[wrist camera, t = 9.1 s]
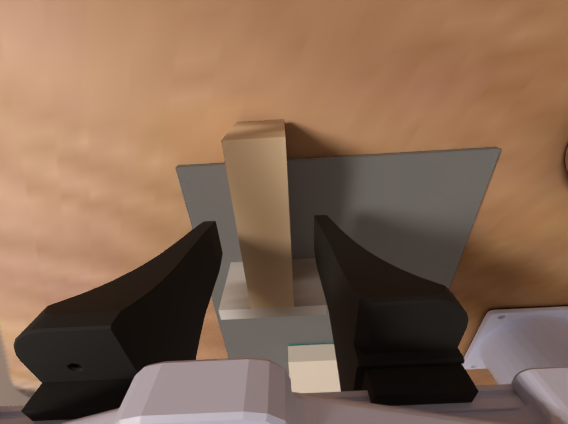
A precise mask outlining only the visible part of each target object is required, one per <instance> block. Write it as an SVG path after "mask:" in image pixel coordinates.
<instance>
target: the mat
mask: <svg viewBox="0 0 568 424" xmlns="http://www.w3.org/2000/svg"><path fill="white" fill-rule="evenodd" d="M500 151H501V149H500V148H497V147H486V148H469V149H452V150H435V151H417V152H400V153H383V154H366V155H348V156H331V157H314V158H297V159H287V177H288V196H289V216H290V235H291V255H292V259H306V258H315V252H314V215H327V216H328V217H329V218H330V219H331V220H332V221H333V222H334V223H335V224H336V225H337V226H338V227H339V228H340V229H341V230H342V231H343V232H344V233H346V234H347V235H348V236H349V237H350V238H351V239H352V240H354V241H355V242H356V243H358V244H359V245H360V246H362V247H363V248H364V249H366V250H367V251H369V252H370V253H372V254H374V255H375V256H377V257H379V258H380V259H382V260H384V261H386V262H388V263H390V264H392V265H393V266H395V267H398V268H400V269H402V270H404V271H407V272H409V273H411V274H414V275H416V276H419V277H421V278H424V279H427V280H430V281H433V282H436V283H439V284H442V285H445V286H446V287H447V288H448V289H449V288H450V285H451V282H452V280H453V277H454V274H455V272H456V269H457V266H458V264H459V261H460V258H461V256H462V253H463V250H464V248H465V245H466V242H467V239H468V237H469V234H470V231H471V229H472V226H473V223H474V221H475V218H476V215H477V213H478V210H479V207H480V205H481V202H482V199H483V197H484V194H485V191H486V188H487V186H488V183H489V180H490V178H491V175H492V172H493V170H494V167H495V164H496V162H497V159H498V156H499V154H500ZM176 171H177V175H178V178H179V182H180V186H181V189H182V193H183V196H184V200H185V203H186V207H187V211H188V214H189V218H190V221H191V225H192V229H194V228H195V227H197V226H198V225H199V224H201V223H202V222H204V221H216V225H217V229H218V234H219V238H220V243H221V247H222V252H223V255H222V261H221V266H220V271H219V274H218V277H217V280H216V283H215V286H214V289H213V292H212V295H211V297H212V300H213V304H214V307H215V311H216V314H217V318H218V322H219V325H220V329H221V332H222V336H223V339H224V343H225V347H226V350H227V354H228V357H229V358H259V359H268V360H270V361H272V362H274V363H276V364H278V365H280V366H282V367H283V368H284V369H285V370H286V372H287V374H288V375H289V364H288V346H289V344H304V343H326V342H333V335H332V329H331V323H330V317H329V311H328V307H327V312H326V315H312V316H291V317H270V318H249V319H229V320H221V318H220V314H219V311H218V310H219V306H220V302H221V299H222V295H223V291H224V287H225V283H226V279H227V276H228V272H229V268H230V264H231V262H242V256H241V250H240V245H239V239H238V233H237V228H236V222H235V216H234V210H233V205H232V199H231V193H230V188H229V182H228V176H227V171H226V165H225V163H210V164H193V165H178V166H177V167H176ZM326 304H327V302H326Z"/></svg>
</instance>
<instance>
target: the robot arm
mask: <svg viewBox="0 0 568 424" xmlns="http://www.w3.org/2000/svg"><path fill="white" fill-rule="evenodd" d="M314 252H315V259H316V266H317V270H318V273H319V277H320V281H321V284H322V288H323V292H324V295H325V299H326V302H327V307H328V311H329V317H330V323H331V329H332V335H333V342H334V348H335V355H336V361H337V368H338V375H339V382H340V389H341V392H319V393H297V392H292V389H291V379H290V377H289V375H288V374H287V372H286V370H285V369H284V368H283V367H282V366H280V365H278V364H276V363H274V362H272V361H270V360H268V359H259V358H229V359H207V360H196V355H197V350H198V345H199V340H200V335H201V330H202V326H203V321H204V317H205V313H206V310H207V307H208V304H209V301H210V298H211V295H212V292H213V289H214V286H215V283H216V280H217V277H218V274H219V271H220V266H221V261H222V255H223V252H222V247H221V243H220V238H219V234H218V229H217V225H216V221H204V222H202V223H201V224H199V225H198V226H197V227H195V228H194V229H193V230H192V231H190V232H189V233H188V234H187V235H185V236H184V237H183V238H181V239H180V240H179V241H178V242H176V243H175V244H174V245H172V246H171V247H169V248H168V249H167V250H165V251H164V252H163V253H161V254H160V255H158V256H157V257H155V258H154V259H152V260H150V261H149V262H147V263H145V264H144V265H142V266H140V267H139V268H137V269H135V270H133V271H131V272H129V273H127V274H125V275H123V276H121V277H119V278H117V279H115V280H113V281H111V282H109V283H107V284H104V285H102V286H100V287H97V288H95V289H93V290H90V291H88V292H85V293H83V294H80V295H77V296H74V297H72V298H69V299H66V300H63V301H61V302H58V303H55V304H52V305H49V306H47V307H46V308H45V309H44V310H43V311H42V312H41V313H40V314H39V315H38V317H37V318H36V319H35V320H34V321H33V322H32V323H31V324H30V325H29V326H28V327H27V328H26V329H25V330H24V331H23V332H22V333H21V334H20V335H19V336H18V337H17V338H16V339H15V342H14V349H15V353H16V355H17V357H18V358H19V359H20V361H21V362H22V363H23V364H24V365H25V366H26V367H27V368H28V369H29V370H30V371H31V372H32V373H33V374H34V375H35V376H36V377H37V378H38V379H39V380H40V381H41V382H42V384H41V385H40V387H39V388H38V389H37V391H36V392H35V393H34V395H33V396H32V397H31V398H30V400H29V401H28V403H27V404H26V405H22V406H0V424H568V306H563V307H542V308H521V309H500V310H491V311H489V312H487V313H486V315H485V317H484V319H483V321H482V323H481V325H480V327H479V329H478V331H477V333H476V335H475V337H474V339H473V341H472V343H471V345H470V347H469V349H468V351H467V353H466V354H465V356H464V357H463V356H462V354H461V353H460V351H459V350H458V348H457V347H458V345H459V343H460V341H461V339H462V337H463V335H464V332H465V330H466V328H467V324H468V316H467V313H466V311H465V310H464V309H463V307H462V306H461V305H460V303H459V302H458V300H457V299H456V298H455V296H454V295H453V294H452V293H451V292H450V291H449V289H448V288H447V287H446V286H445V285H442V284H439V283H436V282H433V281H430V280H427V279H424V278H421V277H419V276H416V275H414V274H411V273H409V272H407V271H404V270H402V269H400V268H398V267H395V266H393V265H392V264H390V263H388V262H386V261H384V260H382V259H380V258H379V257H377V256H375V255H374V254H372V253H370V252H369V251H367V250H366V249H364V248H363V247H362V246H360V245H359V244H358V243H356V242H355V241H354V240H352V239H351V238H350V237H349V236H348V235H347V234H346V233H344V232H343V231H342V230H341V229H340V228H339V227H338V226H337V225H336V224H335V223H334V222H333V221H332V220H331V219H330V218H329V217H328V216H327V215H314ZM485 368H487V369H488V370H489V371H490V373H491V374H492V376H493V377H494V379H495V380H496V381H497V383H498V384H499V385H480V386H475V384H474V383H473V381H472V380H471V378H470V376H469V375H468V373H467V372H466V370H465V369H485Z"/></svg>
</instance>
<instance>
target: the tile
mask: <svg viewBox="0 0 568 424" xmlns="http://www.w3.org/2000/svg"><path fill="white" fill-rule="evenodd" d="M288 364H289V377H290V379H291V389H292V392H297V393H319V392H341V389H340V382H339V375H338V368H337V361H336V355H335V348H334V342H326V343H304V344H289V346H288Z"/></svg>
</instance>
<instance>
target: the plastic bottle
mask: <svg viewBox="0 0 568 424" xmlns="http://www.w3.org/2000/svg"><path fill="white" fill-rule="evenodd" d="M565 164H566V168H567V171H568V147H567V150H566V156H565Z"/></svg>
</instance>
